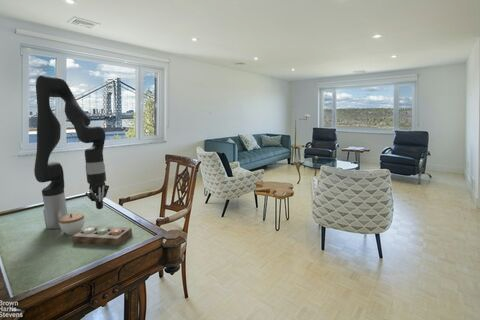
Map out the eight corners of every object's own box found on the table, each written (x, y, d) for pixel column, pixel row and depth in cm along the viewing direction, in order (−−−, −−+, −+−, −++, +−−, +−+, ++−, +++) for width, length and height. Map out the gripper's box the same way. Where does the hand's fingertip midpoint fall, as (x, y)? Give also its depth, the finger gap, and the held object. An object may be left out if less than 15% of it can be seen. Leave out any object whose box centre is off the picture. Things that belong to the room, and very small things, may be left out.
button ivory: (81, 236, 124) (81, 231, 123) (88, 232, 128) (87, 227, 127) (90, 236, 123) (89, 231, 122) (97, 232, 127) (96, 227, 127)
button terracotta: (109, 237, 121) (108, 232, 121) (115, 233, 125) (115, 228, 125) (118, 238, 120) (117, 233, 120) (124, 234, 125) (123, 229, 124)
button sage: (95, 237, 122) (94, 232, 122) (101, 232, 127) (101, 228, 126) (104, 237, 122) (103, 232, 121) (110, 233, 126) (109, 228, 125)
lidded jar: (59, 238, 125) (56, 219, 124) (61, 230, 135) (58, 212, 133) (85, 233, 130) (83, 215, 129) (86, 225, 140) (83, 208, 138)
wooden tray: (73, 243, 121) (72, 235, 120) (90, 232, 132) (89, 225, 131) (118, 245, 117) (117, 238, 117) (132, 234, 128) (131, 227, 127)
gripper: (98, 168, 127) (102, 203, 131) (77, 174, 115) (81, 213, 118) (112, 168, 126) (116, 204, 129) (92, 175, 113) (97, 214, 116)
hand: (99, 208), depth 124 cm, fingers closed
